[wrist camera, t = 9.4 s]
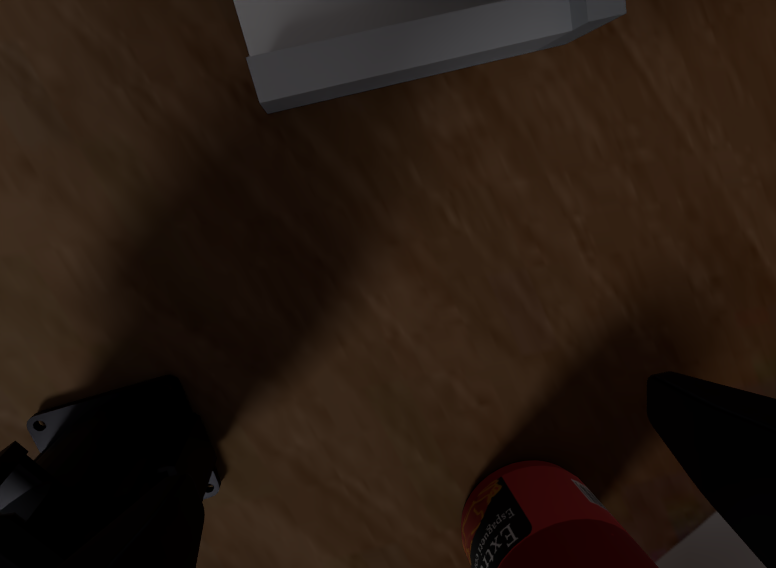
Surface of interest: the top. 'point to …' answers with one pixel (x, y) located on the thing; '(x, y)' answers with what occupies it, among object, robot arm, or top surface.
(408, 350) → the top surface
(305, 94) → the shallow grey tray
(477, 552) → the canned food
